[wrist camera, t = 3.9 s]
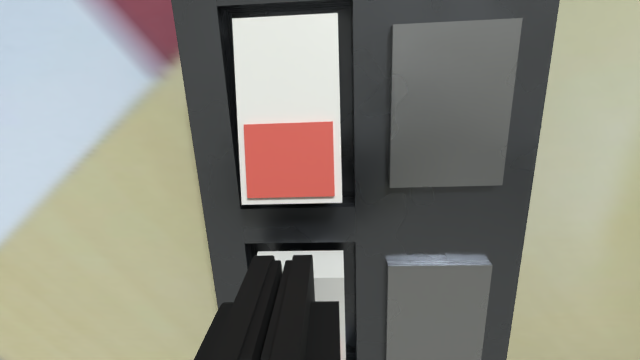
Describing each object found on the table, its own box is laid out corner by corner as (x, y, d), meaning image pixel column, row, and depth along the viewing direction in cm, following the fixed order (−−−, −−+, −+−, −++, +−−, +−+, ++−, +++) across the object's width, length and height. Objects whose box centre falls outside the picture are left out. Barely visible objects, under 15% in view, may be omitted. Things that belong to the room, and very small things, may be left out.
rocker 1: (337, 28, 10) (337, 11, 9) (342, 196, 11) (342, 203, 9) (244, 33, 10) (230, 16, 9) (252, 198, 11) (240, 205, 10)
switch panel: (496, -22, 12) (577, -69, 8) (451, 438, 19) (483, 541, 15) (216, -6, 13) (159, -43, 9) (268, 434, 19) (249, 532, 15)
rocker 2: (343, 250, 11) (344, 280, 10) (345, 347, 14) (346, 381, 13) (258, 251, 11) (249, 281, 10) (275, 347, 14) (269, 380, 13)
